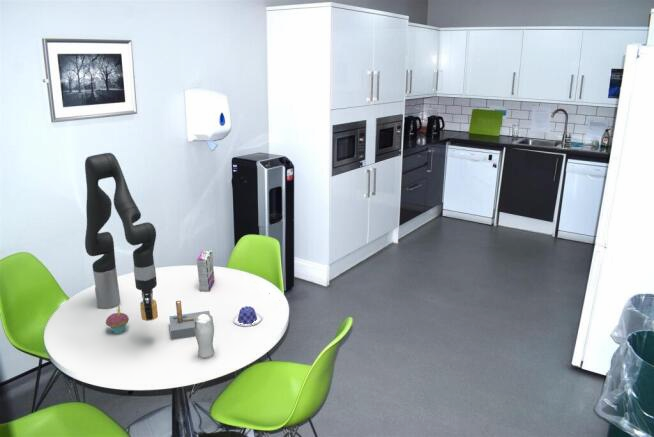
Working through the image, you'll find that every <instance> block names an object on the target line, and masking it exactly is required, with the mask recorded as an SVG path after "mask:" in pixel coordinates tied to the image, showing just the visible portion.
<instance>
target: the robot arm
mask: <svg viewBox="0 0 654 437" xmlns="http://www.w3.org/2000/svg"><path fill="white" fill-rule="evenodd" d="M122 170H123V169H122V168H121V165H120V163H119V161H118V159H117V157H116V156H115V154H113V153H112V152H104V153H98V154H94V155H89V156H88V157H86V158H85V161H84V171H85V180H86V181H85V182H86V206H85V207H86V208H85V209H86V228H85V237H84V248H85V251H86V252H85V253H87V255H88V256H90V257H97V256H101V255H102V256H101V257H99V258H98V259H96V260H95V261H94V262H93V263H92V273H93V279H94V280H93V281H94V292H95V298H96V299H95V300H96V306H97V309H112V308H116V307H118V306H120V304H121V295H120V289H119V288H120V287H119V280H118V272H117V265H116V255H115V243H114V238H113V235H112V233H111V232H110V231H104V232H100V231H101V230H102V229H103V227H104V226H105V225H106V224H107V222H109V221H110V219H111V216H112V207H113V206H114V209H115V210H116V213H117V214H118V217H119V219H120V220H121V223H122V227H123V231H124V237H125V240H126V242H127V243H128V244H129V245H131V246H138V245H140V246H139V247H137V248H136V249H135V250H133V252H132V259H133V275H134V284H135V288H136V289H137V290H139V291H141V298H142V301H143V305H144V308H145V312H146V319H147V320H151V319H153V316H152V304H153V300H154V298H153V296H154V295H153V293H154V292H153V289H155V288H156V287H157V286H158V281H157V273H156V272H157V271H156V266H155V260H154V248H155V243H156V239H157V229H156V227H155V225H154V224H153V223H152V222H141V223H138V224H135V223H137V222H138V221H139V220H140V219H141V217H142V214H141V211H140V209H139V207H138V206H137V204H136V202H135V200H134V198H133V196H132V194H131V192H130V190H129V187H128V183H127V181H126V179H125V176H124V173H123V171H122ZM109 178H113V179H114V180H113V181H114V183H115V190H114V195H113V206H112V200H111V197H110V196H109V195H108V194H107V193H106V192H105V191H104V190H103V189H102V188H101V186H99V182H100V180H105V179H109ZM146 307H150V308H146ZM151 321H152V320H151Z"/></svg>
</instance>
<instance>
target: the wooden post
mask: <svg viewBox="0 0 654 437" xmlns="http://www.w3.org/2000/svg"><path fill="white" fill-rule="evenodd" d="M175 309H176V315H177V320H178V323H182V322H183V317H182V314H183V309H182V301H181V300H176V301H175Z"/></svg>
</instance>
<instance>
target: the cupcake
mask: <svg viewBox="0 0 654 437" xmlns="http://www.w3.org/2000/svg"><path fill="white" fill-rule="evenodd" d="M120 311H121V308H120V305H118V306H117V312H115V313H112V314H110V315H109V316H107V318H106V320H105V325H106V326H108V327H110V329H111V331H112V333H115V334H120V333H123V332H124V331H125V330H126V326H127V324H128V322H129V319H130V318H129V316H128V315H127V314H126V313H124V312H120Z"/></svg>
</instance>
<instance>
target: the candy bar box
mask: <svg viewBox="0 0 654 437" xmlns="http://www.w3.org/2000/svg"><path fill="white" fill-rule="evenodd" d="M196 264H197V265H196V266H197V276H198V277H197V278H198V286H199V288H198V289H199V292H211V289H212V287H213V286H214V283H215V271H214V261H213V250H202V251H201V252H200V254H199V255H198V257H197V258H196Z"/></svg>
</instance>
